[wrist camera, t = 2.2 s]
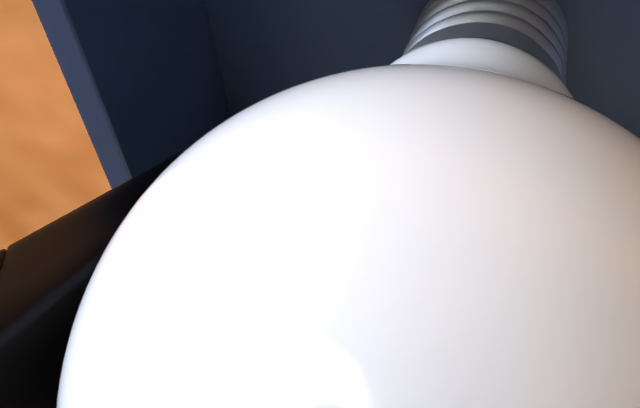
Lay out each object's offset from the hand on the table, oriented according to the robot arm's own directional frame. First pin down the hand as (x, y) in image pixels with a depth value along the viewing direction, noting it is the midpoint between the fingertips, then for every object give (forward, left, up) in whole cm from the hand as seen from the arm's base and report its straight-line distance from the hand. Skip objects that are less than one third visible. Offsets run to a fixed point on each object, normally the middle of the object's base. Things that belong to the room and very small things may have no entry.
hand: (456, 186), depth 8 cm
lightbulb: (0, 0, -5) cm, 5 cm away
